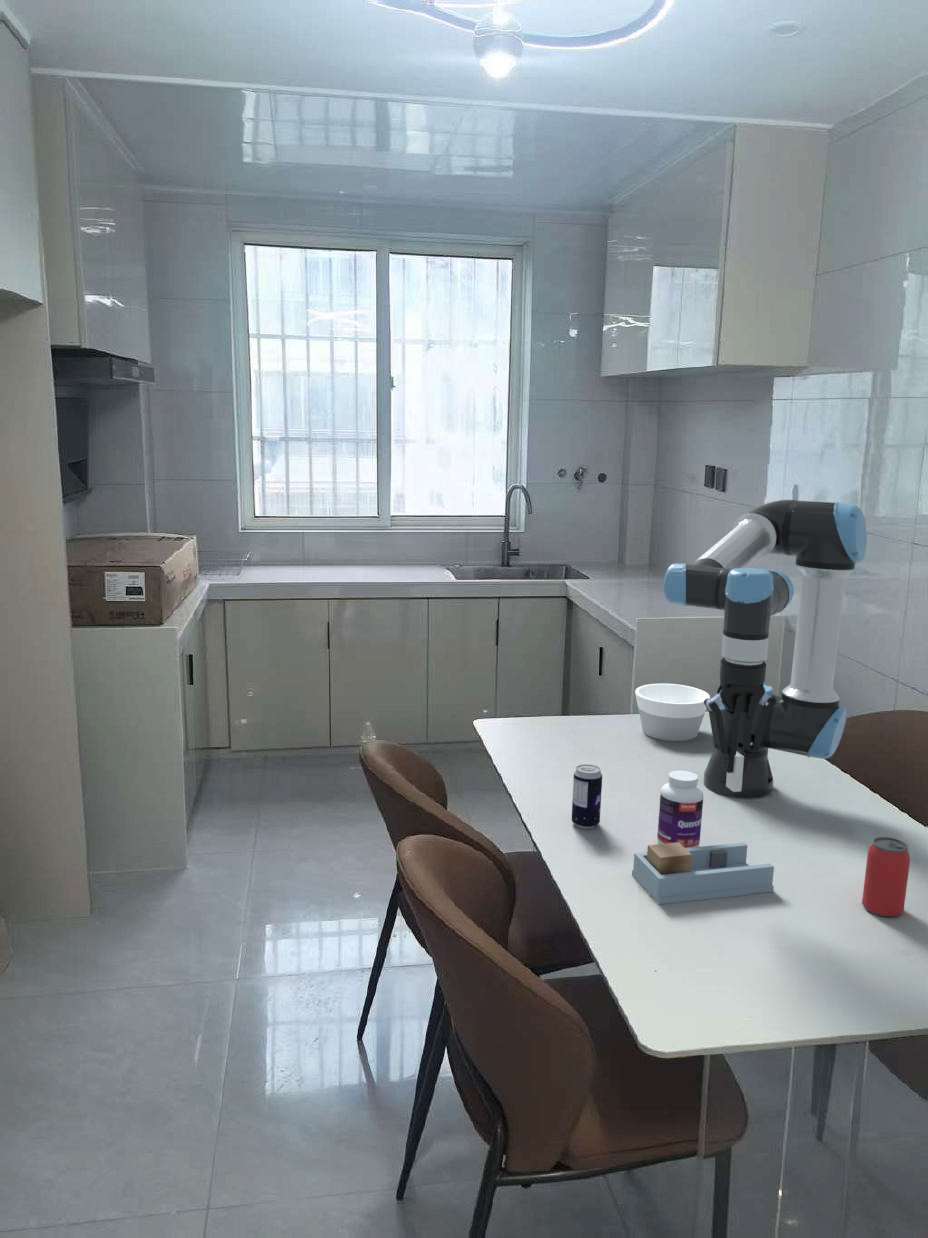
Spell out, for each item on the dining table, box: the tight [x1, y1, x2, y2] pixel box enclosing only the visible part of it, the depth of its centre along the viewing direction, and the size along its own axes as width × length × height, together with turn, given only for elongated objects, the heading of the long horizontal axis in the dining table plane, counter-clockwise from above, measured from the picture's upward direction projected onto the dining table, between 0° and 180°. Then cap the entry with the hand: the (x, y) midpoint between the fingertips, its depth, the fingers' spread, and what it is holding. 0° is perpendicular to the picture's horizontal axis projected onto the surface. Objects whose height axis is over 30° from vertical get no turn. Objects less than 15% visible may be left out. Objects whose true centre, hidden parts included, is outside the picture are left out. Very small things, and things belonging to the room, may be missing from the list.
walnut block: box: [646, 842, 692, 875], centre depth 171 cm, size 6×5×6 cm
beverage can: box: [571, 764, 603, 830], centre depth 196 cm, size 6×6×12 cm
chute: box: [631, 842, 775, 905], centre depth 173 cm, size 22×11×4 cm, turn 105°
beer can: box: [861, 836, 911, 918], centre depth 164 cm, size 7×7×12 cm
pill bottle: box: [656, 770, 704, 848], centre depth 187 cm, size 8×8×14 cm
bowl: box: [634, 683, 711, 742], centre depth 255 cm, size 19×19×11 cm
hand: (733, 788), depth 171 cm, fingers closed
